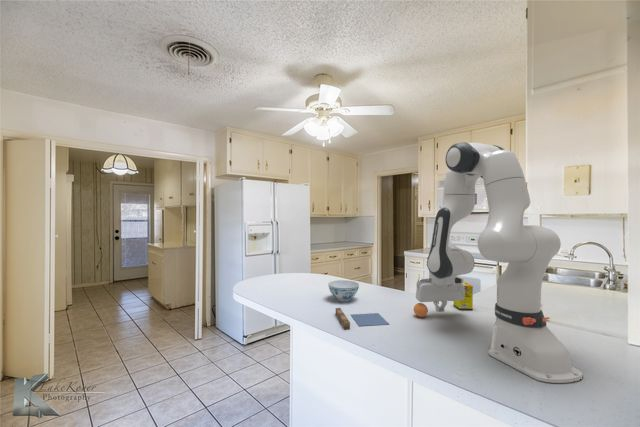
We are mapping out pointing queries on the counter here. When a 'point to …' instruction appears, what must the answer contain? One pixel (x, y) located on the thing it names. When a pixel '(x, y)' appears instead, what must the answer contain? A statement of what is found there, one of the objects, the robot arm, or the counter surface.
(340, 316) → the bar
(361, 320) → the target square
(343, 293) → the chinaware
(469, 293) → the supplement box
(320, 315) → the counter surface
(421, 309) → the ball
